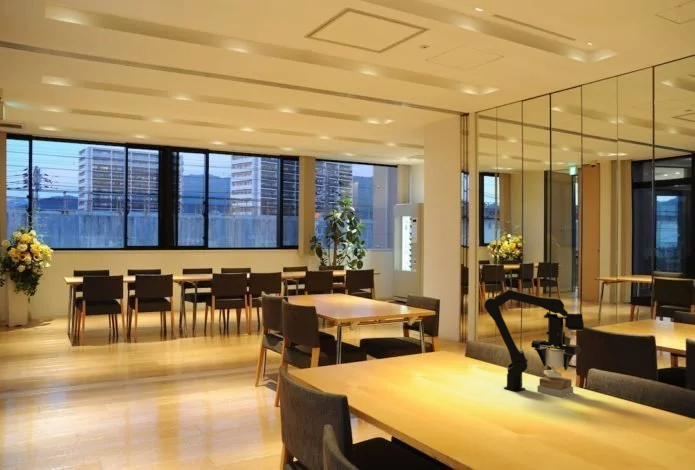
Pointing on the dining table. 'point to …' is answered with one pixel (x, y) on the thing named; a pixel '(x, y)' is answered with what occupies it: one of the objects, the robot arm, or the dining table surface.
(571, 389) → the tower base
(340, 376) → the dining table surface
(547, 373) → the security camera
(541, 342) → the robot arm
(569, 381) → the tower top
